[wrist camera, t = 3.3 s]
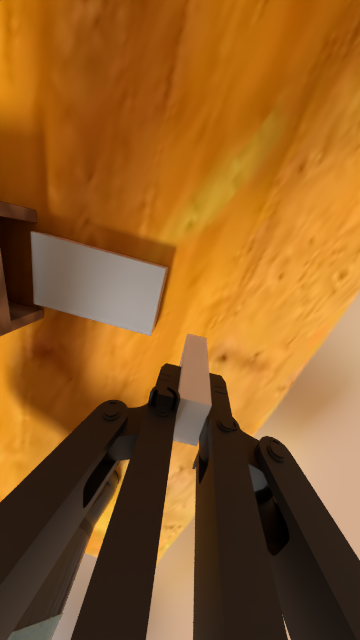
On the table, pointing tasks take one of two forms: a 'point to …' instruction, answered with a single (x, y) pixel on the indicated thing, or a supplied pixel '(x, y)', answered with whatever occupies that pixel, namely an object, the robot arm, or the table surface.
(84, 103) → the table surface
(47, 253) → the tile
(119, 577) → the robot arm
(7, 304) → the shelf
